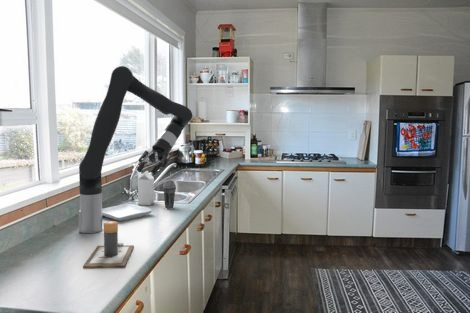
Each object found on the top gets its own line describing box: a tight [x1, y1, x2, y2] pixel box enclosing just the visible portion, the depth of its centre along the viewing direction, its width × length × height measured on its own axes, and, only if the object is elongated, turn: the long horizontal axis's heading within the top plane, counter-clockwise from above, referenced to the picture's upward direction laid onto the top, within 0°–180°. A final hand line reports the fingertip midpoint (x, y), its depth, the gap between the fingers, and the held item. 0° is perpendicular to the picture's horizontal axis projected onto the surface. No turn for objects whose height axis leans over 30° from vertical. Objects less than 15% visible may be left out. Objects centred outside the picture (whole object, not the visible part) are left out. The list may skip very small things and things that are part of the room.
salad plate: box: [102, 203, 154, 222], centre depth 198 cm, size 21×21×3 cm
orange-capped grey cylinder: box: [103, 220, 119, 257], centre depth 142 cm, size 5×5×12 cm
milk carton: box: [137, 170, 155, 206], centre depth 223 cm, size 7×7×19 cm
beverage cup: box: [162, 172, 177, 210], centre depth 214 cm, size 7×7×20 cm
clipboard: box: [82, 242, 135, 269], centre depth 142 cm, size 14×20×2 cm
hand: (145, 172), depth 161 cm, fingers open, 8 cm apart
